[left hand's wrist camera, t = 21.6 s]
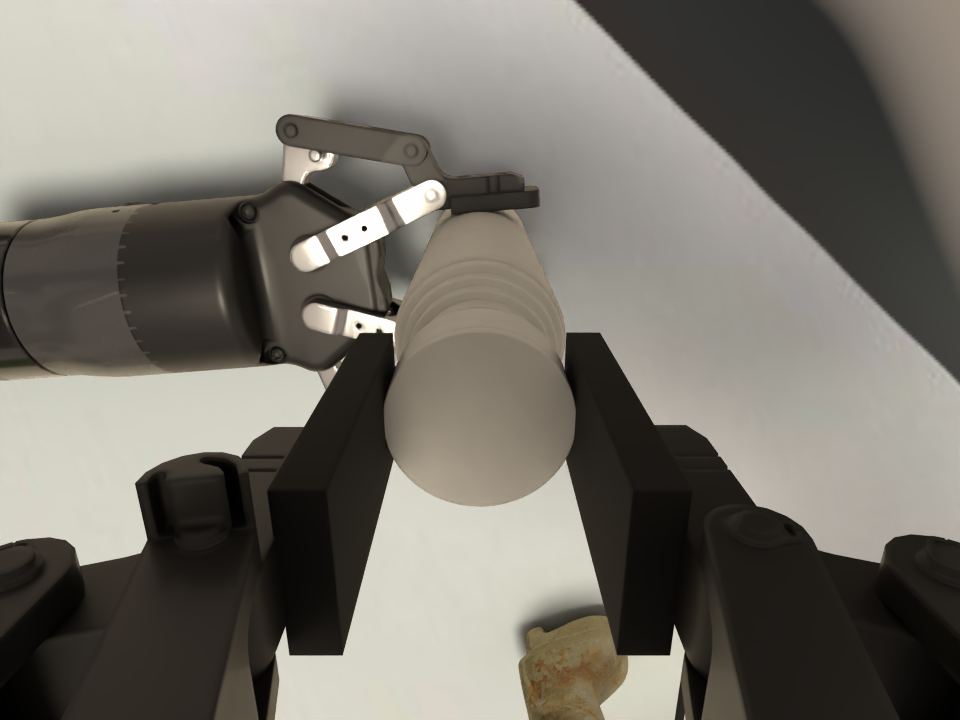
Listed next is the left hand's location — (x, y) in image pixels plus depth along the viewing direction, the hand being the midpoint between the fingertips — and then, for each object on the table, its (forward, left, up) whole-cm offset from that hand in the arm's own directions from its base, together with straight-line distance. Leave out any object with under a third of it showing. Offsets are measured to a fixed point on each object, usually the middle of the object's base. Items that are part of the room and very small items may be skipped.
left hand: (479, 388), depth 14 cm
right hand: (-2, -2, -14) cm, 14 cm away
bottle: (0, 0, -20) cm, 20 cm away
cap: (0, 0, +1) cm, 1 cm away
